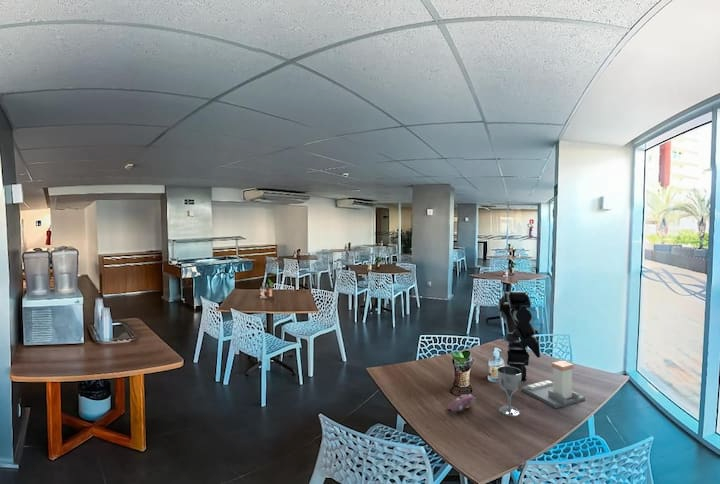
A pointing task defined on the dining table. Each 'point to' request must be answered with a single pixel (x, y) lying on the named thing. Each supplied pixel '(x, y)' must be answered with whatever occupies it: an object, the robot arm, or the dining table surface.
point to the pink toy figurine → (462, 402)
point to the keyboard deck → (551, 394)
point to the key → (562, 378)
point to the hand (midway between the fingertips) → (538, 357)
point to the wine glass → (509, 386)
